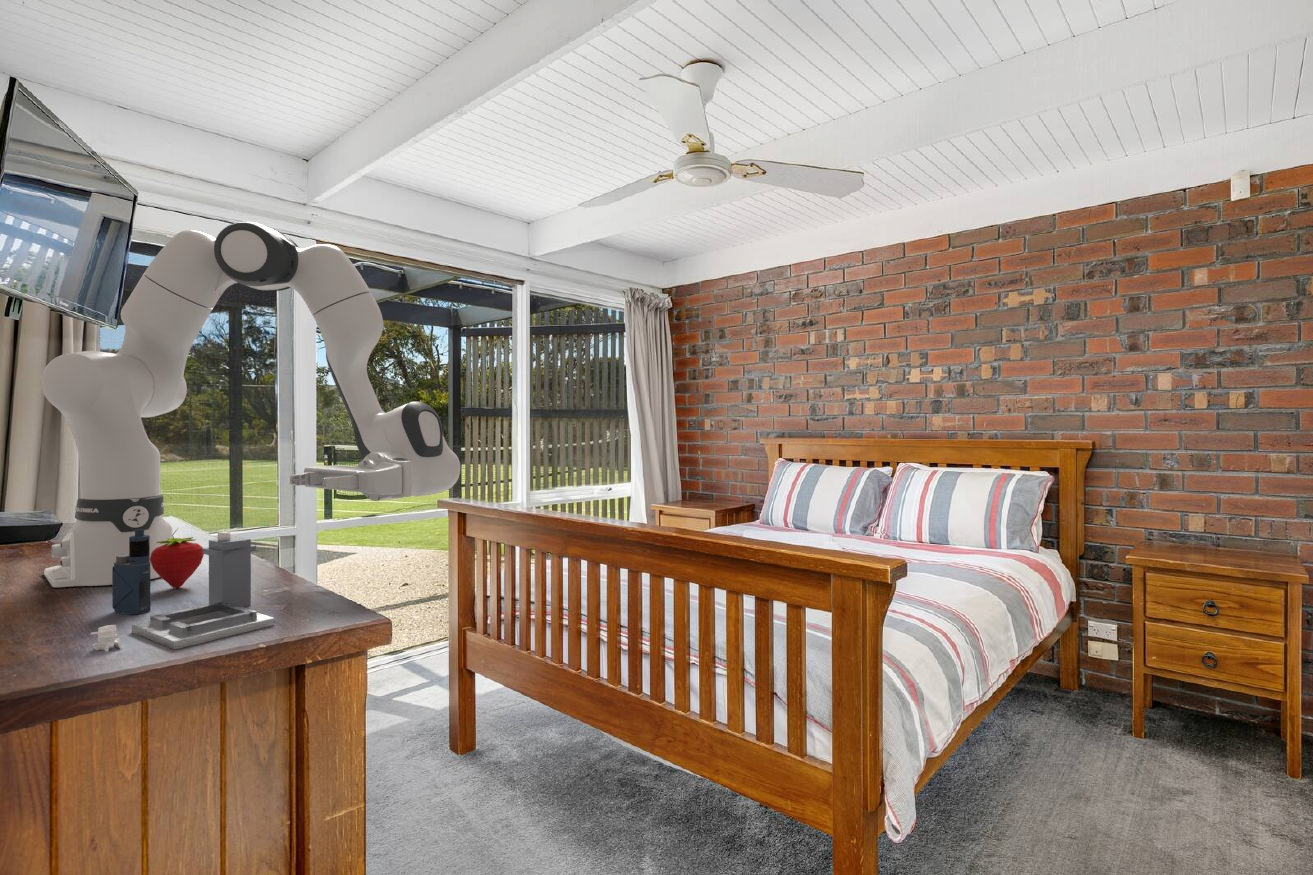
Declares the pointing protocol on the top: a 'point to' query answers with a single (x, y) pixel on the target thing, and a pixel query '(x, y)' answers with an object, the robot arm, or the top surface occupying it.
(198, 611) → the plate
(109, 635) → the power adapter
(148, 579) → the vaping device
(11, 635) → the top surface
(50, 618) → the top surface
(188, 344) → the robot arm
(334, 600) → the top surface
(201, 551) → the strawberry
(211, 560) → the block
